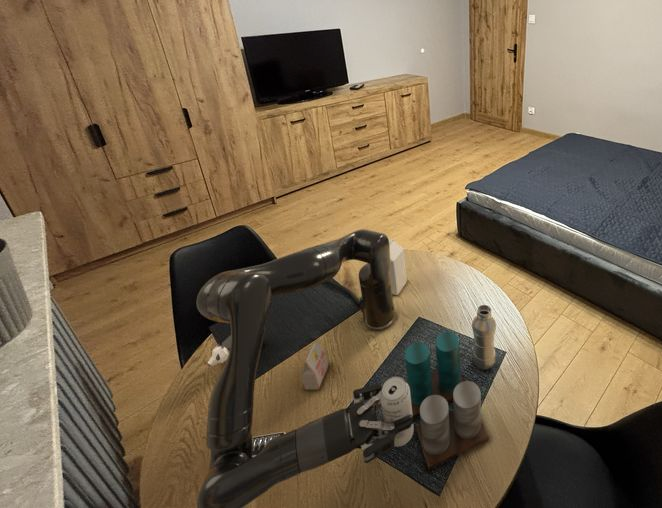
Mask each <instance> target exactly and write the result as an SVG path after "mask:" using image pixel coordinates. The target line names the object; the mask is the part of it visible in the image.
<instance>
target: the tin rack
mask: <svg viewBox="0 0 662 508" xmlns="http://www.w3.org/2000/svg"><path fill="white" fill-rule="evenodd" d="M452 403H453V410H452V411H449V410H450V408H449V403H447V401H446V400H445V398H443V397H442V396H440V395H431V396H429V397H427V398H426V399H424V401H423V402H422V404H421V406H420V416H419V420H420V425H419V426H417V427H416V433H417V434H416V435H417V437H418V440H419V443H420V446H421V450H422V453H423V456H424V460H425V463H426V466H427V470H428V471H430V470H432V469H434V468H436V467H438V466H440V465H442V464H444V463H446V462H448V461H450V460H452V459H454V458H455V457H457V456H459V455H462V454H463V453H465V452H467V451H469V450H472V449H473V448H475V447H477V446H479V445H481V444H483V443H485V442H487V441H489V440H490V436H489V434H488V431H487V428H486V427H485V424H484V423H483V421H482V417H481V416H482V392H481V389H480V387H479V386H478V385H477V384H476V383H475V382H473V381H470V380H463V382H461V383H459V384H458V385H457V386H456V387H455V389H454V392H453V401H452Z"/></svg>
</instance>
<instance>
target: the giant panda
mask: <svg viewBox="0 0 662 508" xmlns="http://www.w3.org/2000/svg"><path fill="white" fill-rule="evenodd" d="M215 345H216V346H215V347H214V348H213V349H212V351H211V354H210V355H211V357H210V358H209V360H208V361H207V363H206V364H207V365H208V366H209V367H210V366H211V367H213V366H216V365H218V364H224V363H226V361H227V358H228V355H229V352H230V347H231V334H229V336H228V337H227V338H226V339H225V340H224V341H222V342H221V345H220V344H218V343H216V344H215ZM262 347H263V344H262Z"/></svg>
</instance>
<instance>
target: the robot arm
mask: <svg viewBox="0 0 662 508" xmlns="http://www.w3.org/2000/svg"><path fill="white" fill-rule="evenodd" d="M388 237H389V236H387V234H385V233H382V232H378V231H375V230H370V229H365V228H364V229H363V228H362V229H358V230H355V231H352V232H351V233H348V234H347V235H344V236H342V237H339V238H337V239H335V240H334V239H333V240H330V241H328V242H324V243H320V244H316V245H314V246H310V247H307V248H304V249H301V250H299V251H296V252H293V253H290V254H289V253H288V254H287V255H284V256H281V257H279V258H276V259H273V260H271V261H268V262H265V263H262V264H261V263H260V264H257V265H253V266H247V267H243V268H242V267H241V268H238V269H237V268H236V269H232V270H226V271H222V272H220V273H217V274H216V275H214V276H213V277H211V278H210V279H208V281H207V282H205V283H204V285H203V286H202V287H201V288H200V290H199V292H198V294H197V296H196V303H195V304H196V309H197V310H198V312H199V313H200V315H202V316H203V317H204V318H206V319H208V320H210V321H213V322H217V323H226V324H230V335H231V347H230V352H229V355H228V358H227V360H226V361H225V362H224V363H225V364H224V366H223V368H222V369H221V371H220V373H219V375H218V377H217V380H215V383H214V385H213V388H212V390H211V394H210V397H209V402H208V408H207V422H206V447H207V448H208V449H209V450H210V458H209V459H210V461H209V468H208V472H207V474H206V477H205V479H204V481H203V483H202V485H201V487H200V489H199V492H198V495H197V500H196V508H245V507H246V506H247V505H249V504H250V503H252V502H253V501H255V500H256V499H258V498H259V497H261V496H262V495H264V494H265V493H266V492H268V491H269V490H270V489H271V488H273V487H274V486H275V485H277V484H279V483H282V482H284V481H286V480H289V479H291V478H294V477H296V476H298V475H300V474H302V473H305V472H308V471H312V470H315V469H317V468H320V467H321V466H324V465H326V464H328V463H330V462H333V461H335V460H337V459H339V458H341V457H343V456H346V455H348V454H350V453H352V452H353V451H354V450H356V449H357V450H358V449H359V450H361V451H362V457H363V461H364V463H365V464H369V463H371V462H373V461H374V460H375V459H377V458H378V457H380V456H382V455H383V454H385V453H386V452H388V451H390V450H391V449H393V448H394V447H395V446H394V445H395V444H394V441H395V436H396V434H398V433H400V432H402V431H404V430H406V429H409V428H410V427H411V425H412V424H413V425H414V418H413V416H412V414H410V415H408V416H405V417H403V418H401V419H399V420H396V421H394V424H393V423H384V421H383V420H382V421H381V420H378V417H377V413H378V412H379V410H380V408H381V401H380V393H381V390H382V388H383V385H382V384H381V383H375V384H371V385H368V386H367V385H366V386H364V387H360V388H356V389H354V390H353V391H352V395H353V404H352V405H351V406H350V407H347V408H340V409H338V410H336V411H334V412H332V413H329V414H326V415H324V416H321V417H319V418H317V419H314V420H311V421H309V422H307V423H306V424H304V425H302V426H300V427H298V428H296V429H293V430H291V431H288V432H285V434H283V435H281V436H278V437H276V438H274V439H272V440H271V441H269V442H268V443H267V444H266V446H265V447H264V448H263V450H262V451H261V452H260V453H259V454H257V455H256V456H254V457H253V445H252V437H253V434H252V427H253V421H254V419H253V418H254V401H255V385H256V377H257V372H258V371H257V370H258V366H259V361H260V356H261V352H262V347H263V346H262V345H263V343H264V339H265V333H266V328H267V325H268V323H267V322H268V319H269V315H270V308H271V303H272V297H273V296H277V295H283V294H291V293H294V292H301V291H305V290H308V289H312V288H315V287H317V286H319V285H322V284H324V283H329V284H330V285H333V286H335V287H337V288H339V289H341V290H343V291H344V292H346V293H347V294H348V295H349V296H350V297H351V298H352V299H353V300H354V302H356V304H357V305H359V306H360V307H359V308H360V312H361V315H362V320H363V322H365V325H366V327H367V328H368V329H369V330H373V331H382V330H386V329H388V328H389V327H390V326H391V325H392V324H393V323H394V321H395V319H396V315H395V313H396V312H395V304H394V300H393V294H392V289H391V281H390V273H389V271H390V245H389V242H390V240H389V238H388ZM348 261H357V262H358V261H359V262H362V263H366V264H364V265H363V266H362V267H361V268H360V269H359V271H358V282H359V288H360V293H361V296H360V298H358V297H356V295H355V294H354V292H352V291H351V290H350V289H348V288H347V287H345V286H343V285H341V284H339V283H337V282H335V281H332V279H334V277H336V275H337V274H338V273H339V272H340V270H341V268H342V265H343V263H346V262H348ZM366 400H367V402H365V403H364V401H366ZM372 439H379V440H377V441H375V442H374V443H370V442H371V440H372Z"/></svg>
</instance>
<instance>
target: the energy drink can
mask: <svg viewBox="0 0 662 508" xmlns="http://www.w3.org/2000/svg"><path fill="white" fill-rule="evenodd" d="M380 401H381V407H380V408H381V414H382V419H383V420H382V422H383V423H393V424H394V421H396V420H399V419H401V418H403V417H405V416H408V415H410V414H412V406H411V396H410V388H409V385H408V384H407V382H406V380H405V379H404V378H403V377H401V376H392V377H389V378H388V379H387V380H385V382H384V383H383V384H382V390H381V393H380ZM412 416H413V415H412ZM414 431H415V426H414V423H413V424H412V425H411V427H410V428H409V429H406V430H404V431H402V432H400V433H398V434H396V436H395V441H394V444H395V445H394V447H402V446H404V445H406V444H408V442H410V440H411V439H412V437H413V435H414Z"/></svg>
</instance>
